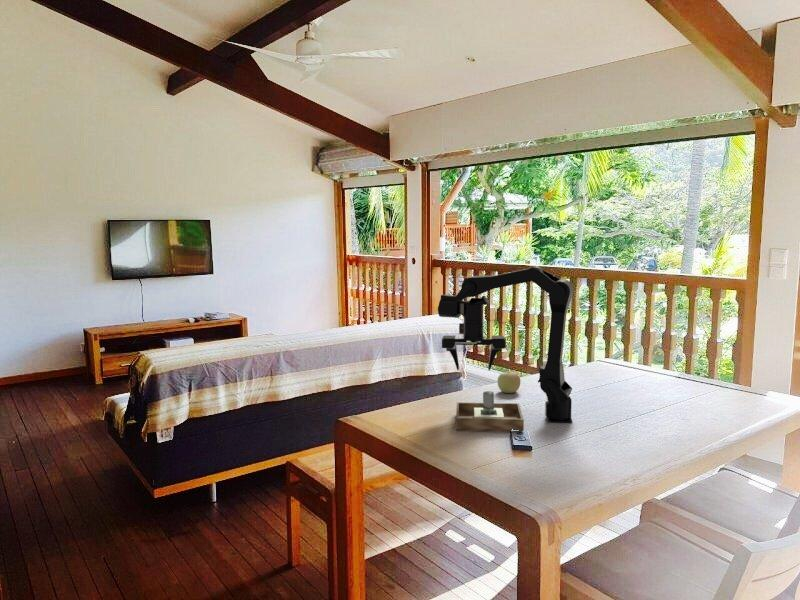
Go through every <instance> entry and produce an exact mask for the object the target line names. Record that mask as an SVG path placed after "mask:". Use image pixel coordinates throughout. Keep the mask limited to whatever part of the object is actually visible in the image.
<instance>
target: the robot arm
mask: <svg viewBox="0 0 800 600" xmlns="http://www.w3.org/2000/svg"><path fill="white" fill-rule="evenodd" d="M528 282H533V283H534V284H536V285H537V286H538V287H539V288H541V290H543V291H544V292H546V293H547V294H548V300H549V307H550V311H551V312H550V315H551V316H550V326H549V336H548V347H547V359H546V363H543V364H541V366H540V367H539V372H538V373H539V378H538V380H537V383H538V384H539V387H540V389H541V391H542V392H543V393H544V394H545V396H546V399H547V400H546V401H545V405H544V407H545V408H544V416H545V418H546V419H547V421H548V422H549V423H573V419H572V404H573V403H572V402H573V401H572V398H571V396H570V395H571V393H572V391H573V387H572V386H571V385H570V384H569V383H568V382H567V381H566V380H565V369H564V365H563V353H564V340H565V332H566V321H567V313H568V310H569V307H570V305H571V301H572V299H573V298H572V297H573V293H574V290H575V289H574V284H572V282H571V281H570V280H568V279H563V278H562V279H561V278H559V277H558V276H556V275H555V274H552V273H551V272H548V271H546V270H545V269H543V268H542V267H541V266H539V265H538V266H537V265H534V266H532V267H529V268H524V269H520V270H515V271H509V272H505V273H500V274H495V275H485V274H484V275H472V276H470V277H466V278H465V279H464V280H463V281H462V283H461V287H460V288H461V289H460V290H459V291H458V292H457V294H456V295H452V294H440V299H439V302H438V306H437V313H438V316H439V317H440V318H453V319H458V318H460V317H461V315H463V323H462V322H461V323H459V325H458V329H459V330H458V334H459V335H463V338H456V335H443V336H442V337H441V348H442V349H445V350H446V352H449V353H450V355H451V357H452V359H453V361H454V365H455V367H456V369H457V371H459V369H460V365H459V355H458V351H457V350H458V348H457V347H458V346H490V349H489V357H488V366H487V367H488V368H487V369H488V371H491V369H492V365H493V362H494V360H495V358H496V356H497V354H498V352H502V349H507V340H506V337H505V336H504V335H491V338H484V306H485V305H488V304H490V303H491V300H489V299H488V297H486V295H482V294H484V293H487V292H488V291H491V290H494V289H498V288H503V287H504V288H506V287H508V286H514V285H518V284H519V285H520V284H523V283H528ZM480 295H482V296H481V297H479V298H478V297H476V296H480ZM468 298H470V299H469V300H466V299H468Z"/></svg>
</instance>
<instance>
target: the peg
mask: <svg viewBox="0 0 800 600" xmlns="http://www.w3.org/2000/svg"><path fill="white" fill-rule="evenodd" d="M494 395H495V394H494V392H493V391H489V390H487V391H483V392H482V403H483V415H494V403H495V397H494Z"/></svg>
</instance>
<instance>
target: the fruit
mask: <svg viewBox="0 0 800 600" xmlns="http://www.w3.org/2000/svg"><path fill="white" fill-rule="evenodd" d="M497 386H498V388H499V390H500V391H501V392H502V393H507V394H508V393H510V394H512V393H516V392H517V391H518V390H519V389H520V387H521V377H520V375H519V374H518V373H517V372H515V371H511V370H510V368H508V369H507V371H504V372H502V373H500V374H499V376H498V377H497Z"/></svg>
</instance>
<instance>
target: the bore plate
mask: <svg viewBox="0 0 800 600" xmlns="http://www.w3.org/2000/svg"><path fill="white" fill-rule="evenodd" d="M474 418H504V415H503V410H502V408H494V415H483V408H474Z"/></svg>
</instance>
